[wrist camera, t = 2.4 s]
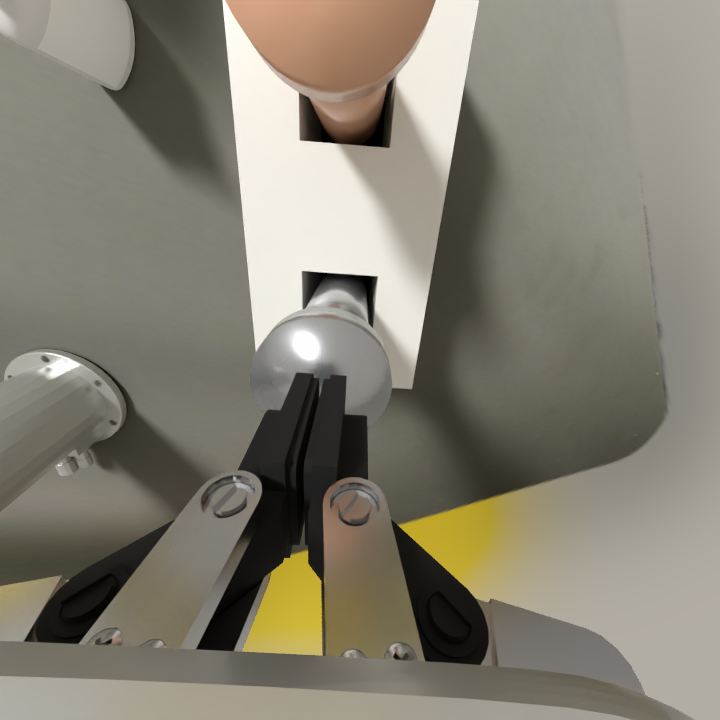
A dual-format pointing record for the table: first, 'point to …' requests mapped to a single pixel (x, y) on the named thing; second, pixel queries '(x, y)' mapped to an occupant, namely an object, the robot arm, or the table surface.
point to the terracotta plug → (336, 53)
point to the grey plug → (326, 350)
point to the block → (349, 185)
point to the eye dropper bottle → (75, 35)
